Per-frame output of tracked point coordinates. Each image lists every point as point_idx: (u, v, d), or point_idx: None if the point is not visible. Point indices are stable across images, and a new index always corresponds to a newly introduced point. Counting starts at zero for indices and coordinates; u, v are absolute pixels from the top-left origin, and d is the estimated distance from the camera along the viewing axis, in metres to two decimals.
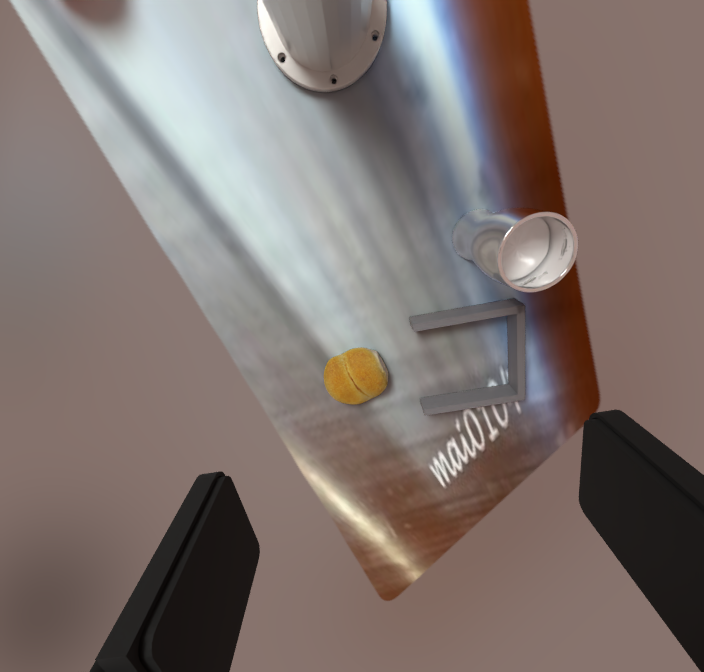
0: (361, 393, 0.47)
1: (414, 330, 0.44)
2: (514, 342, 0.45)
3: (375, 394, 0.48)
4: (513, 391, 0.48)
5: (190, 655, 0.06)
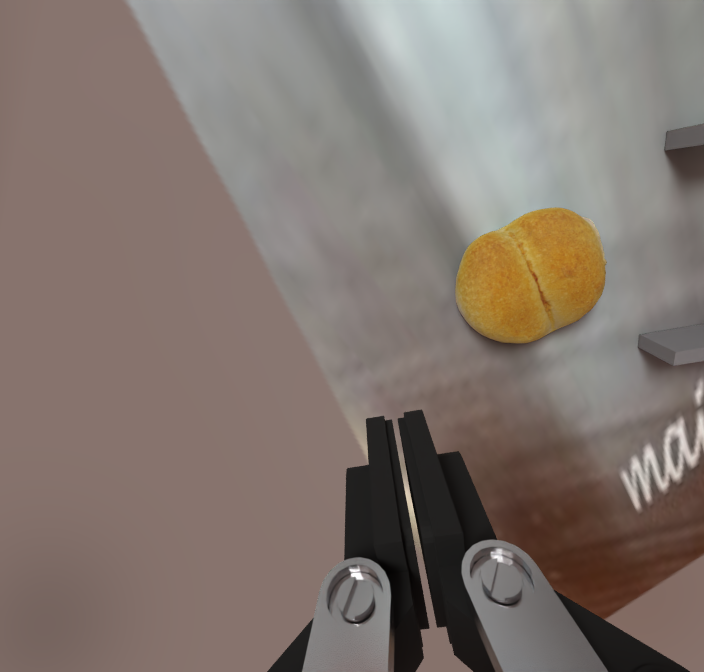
0: (546, 314, 0.21)
1: None
2: None
3: (575, 317, 0.22)
4: None
5: None
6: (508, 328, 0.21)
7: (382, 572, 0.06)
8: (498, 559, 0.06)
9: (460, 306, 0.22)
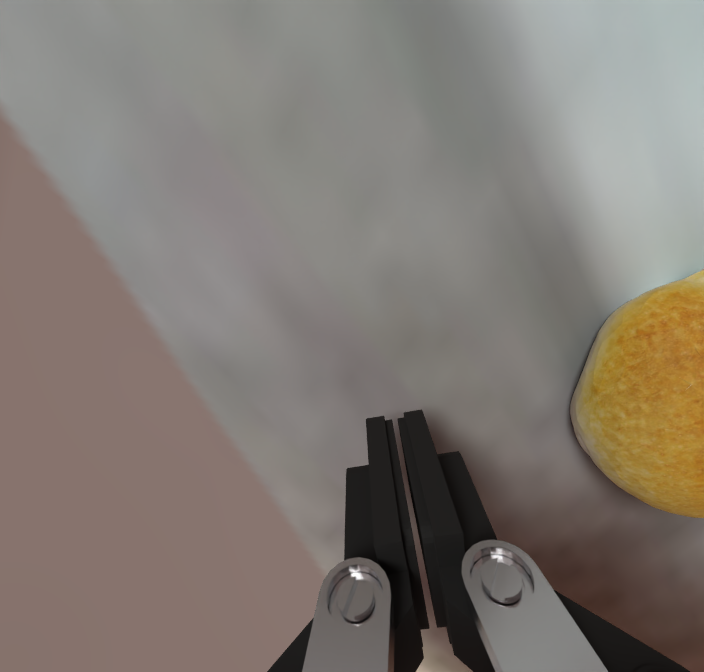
0: None
1: None
2: None
3: None
4: None
5: None
6: None
7: (382, 572, 0.06)
8: (498, 559, 0.06)
9: (590, 441, 0.10)
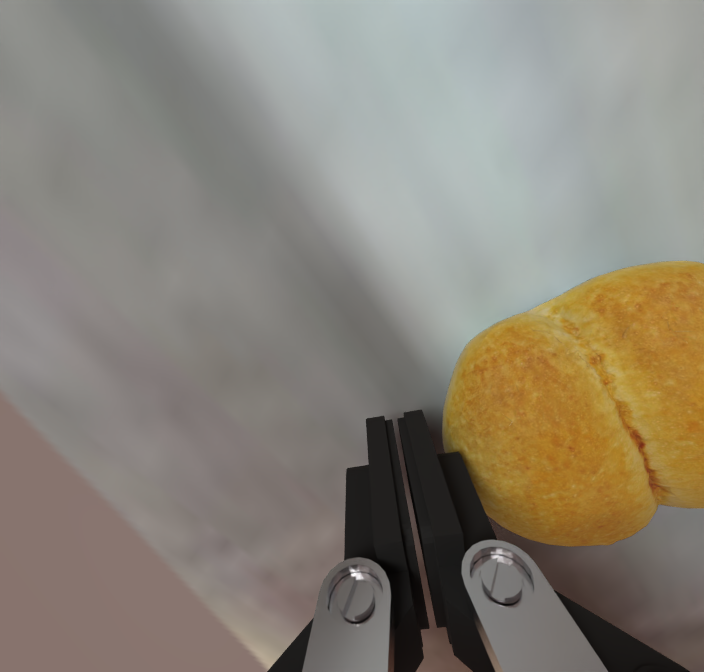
0: (654, 506, 0.09)
1: None
2: None
3: None
4: None
5: None
6: (566, 539, 0.09)
7: (382, 572, 0.06)
8: (498, 559, 0.06)
9: None
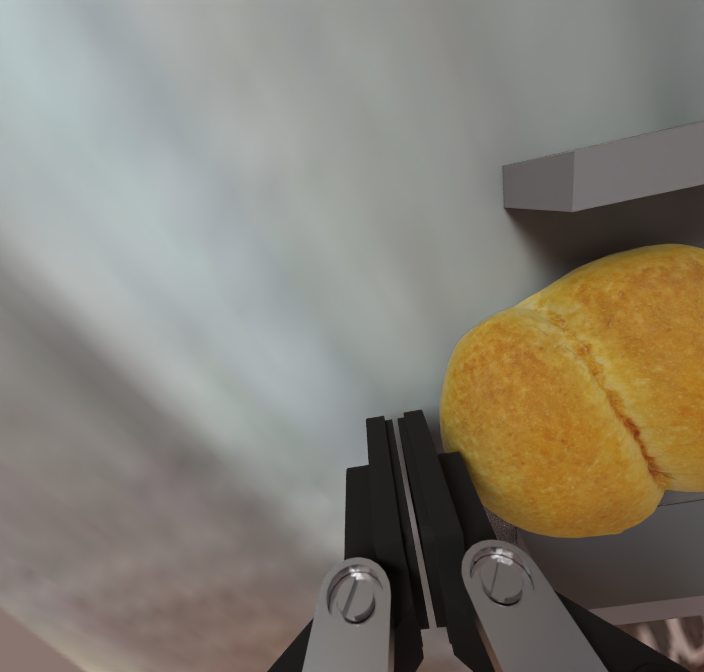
0: (659, 492, 0.09)
1: (579, 201, 0.06)
2: None
3: None
4: None
5: None
6: (570, 531, 0.09)
7: (382, 572, 0.06)
8: (498, 559, 0.06)
9: None
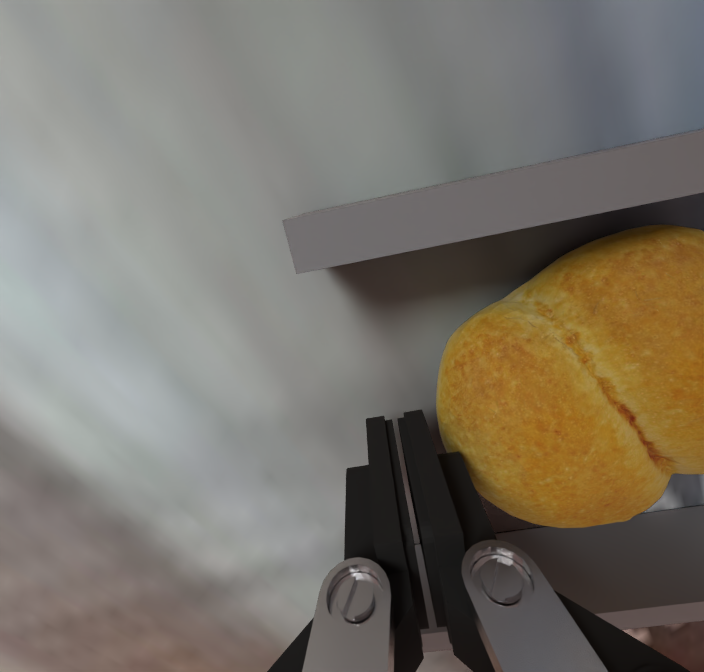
0: (663, 477, 0.09)
1: (301, 264, 0.07)
2: None
3: None
4: None
5: None
6: (575, 521, 0.09)
7: (382, 572, 0.06)
8: (498, 559, 0.06)
9: None
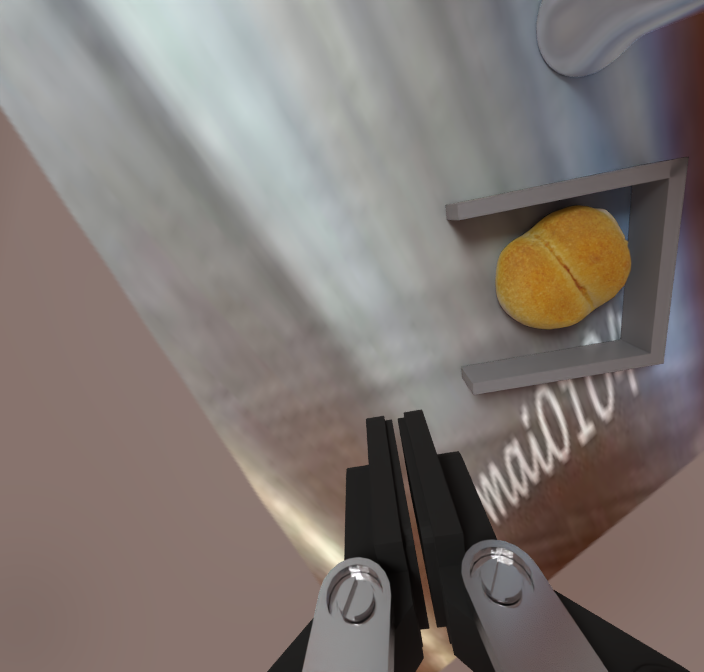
0: (583, 297, 0.24)
1: (460, 217, 0.22)
2: (652, 246, 0.23)
3: (610, 295, 0.24)
4: (638, 349, 0.26)
5: None
6: (552, 316, 0.24)
7: (382, 572, 0.06)
8: (498, 559, 0.06)
9: (504, 305, 0.26)
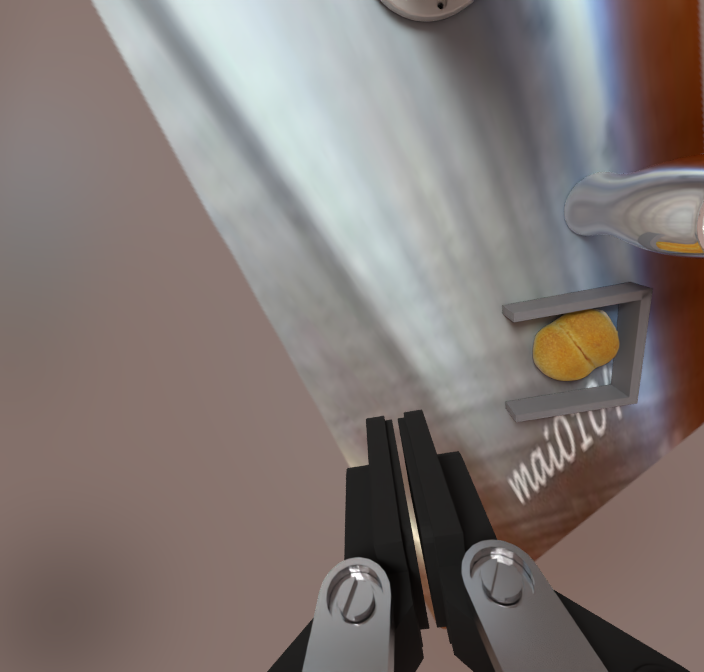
0: (589, 364, 0.38)
1: (515, 320, 0.36)
2: (631, 334, 0.38)
3: (606, 362, 0.39)
4: (621, 393, 0.41)
5: None
6: (569, 375, 0.39)
7: (382, 572, 0.06)
8: (498, 559, 0.06)
9: (538, 366, 0.40)
